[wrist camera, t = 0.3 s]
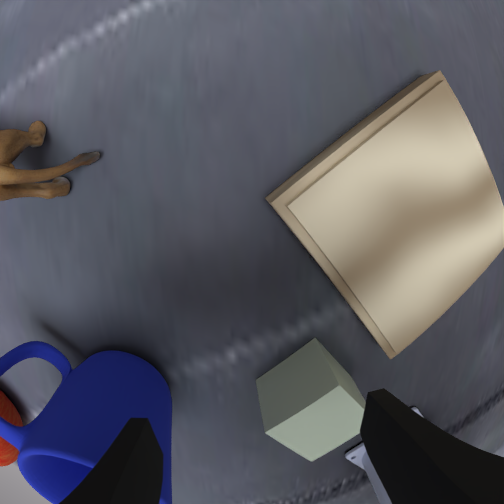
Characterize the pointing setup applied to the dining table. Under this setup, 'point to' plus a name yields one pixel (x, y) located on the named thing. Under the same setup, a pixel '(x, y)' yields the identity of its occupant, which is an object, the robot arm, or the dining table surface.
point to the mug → (87, 417)
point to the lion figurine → (21, 181)
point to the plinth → (399, 211)
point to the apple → (3, 451)
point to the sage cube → (310, 402)
